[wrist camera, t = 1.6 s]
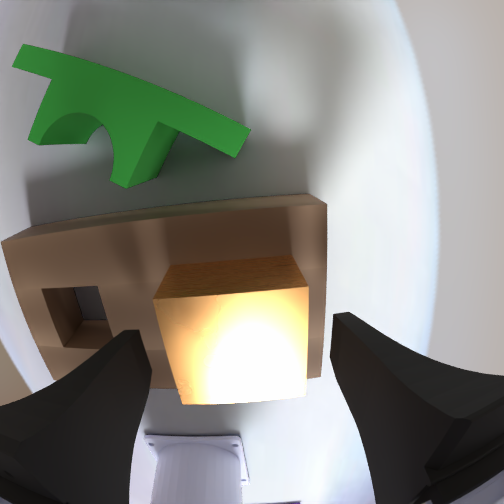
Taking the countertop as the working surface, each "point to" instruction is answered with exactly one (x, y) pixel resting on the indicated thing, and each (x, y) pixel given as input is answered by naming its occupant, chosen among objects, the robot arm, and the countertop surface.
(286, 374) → the orange block
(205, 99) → the countertop surface
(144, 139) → the pipe clamp
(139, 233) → the board
